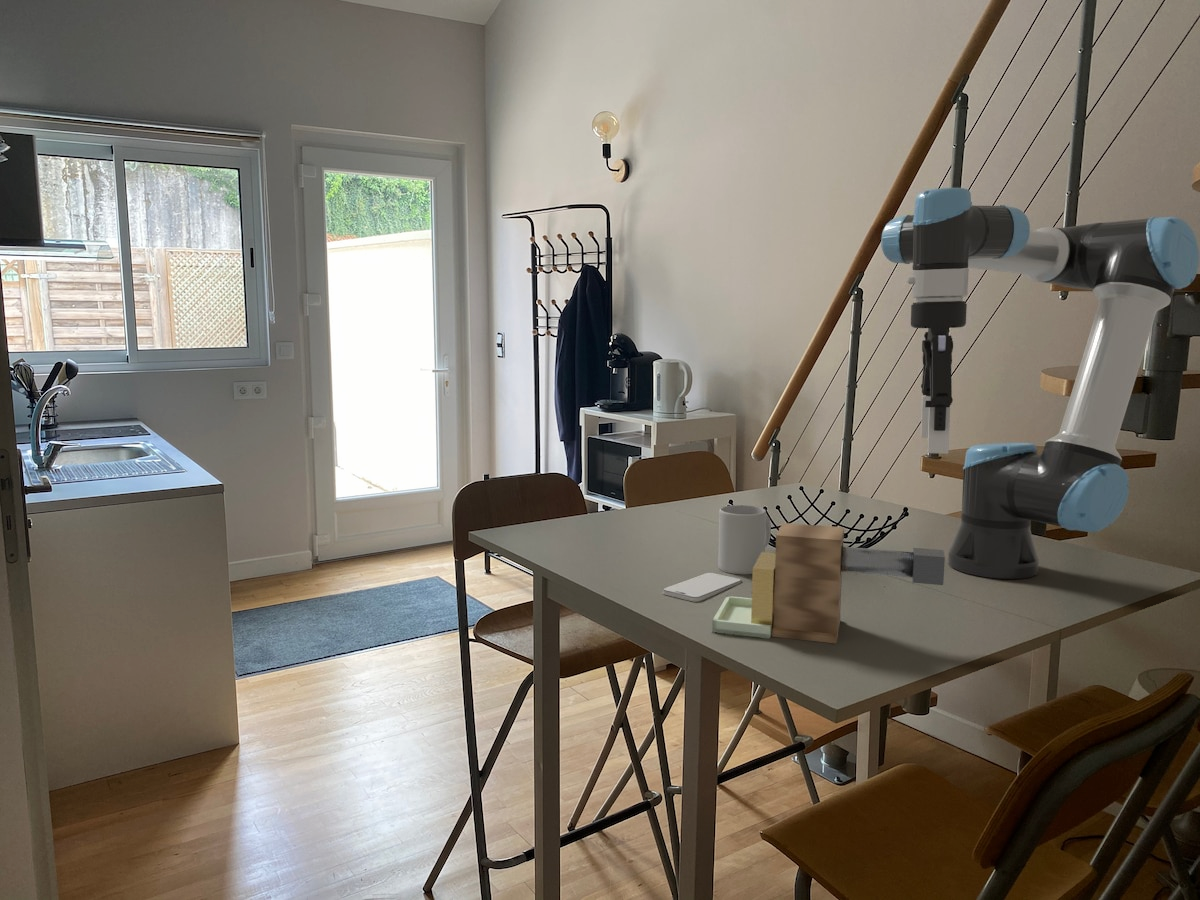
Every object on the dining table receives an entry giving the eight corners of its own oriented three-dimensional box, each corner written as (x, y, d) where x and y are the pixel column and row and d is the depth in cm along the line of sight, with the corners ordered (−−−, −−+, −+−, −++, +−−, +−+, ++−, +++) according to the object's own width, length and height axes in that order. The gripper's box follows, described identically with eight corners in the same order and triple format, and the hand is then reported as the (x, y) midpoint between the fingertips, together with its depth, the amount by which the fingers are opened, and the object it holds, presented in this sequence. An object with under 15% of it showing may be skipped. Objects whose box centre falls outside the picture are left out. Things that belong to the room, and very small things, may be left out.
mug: (744, 577, 156) (745, 517, 155) (708, 567, 163) (709, 509, 161) (786, 565, 164) (787, 507, 162) (750, 555, 170) (751, 500, 169)
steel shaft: (941, 577, 126) (943, 549, 125) (943, 585, 122) (944, 557, 121) (798, 565, 132) (799, 539, 131) (796, 572, 128) (796, 545, 128)
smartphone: (744, 579, 154) (696, 598, 143) (743, 585, 154) (696, 604, 143) (708, 571, 159) (659, 589, 147) (708, 578, 159) (659, 595, 147)
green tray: (779, 612, 138) (780, 601, 138) (769, 638, 127) (770, 626, 127) (726, 606, 141) (726, 595, 140) (712, 632, 129) (712, 620, 129)
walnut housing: (840, 620, 134) (844, 525, 132) (836, 643, 125) (840, 541, 123) (780, 614, 137) (783, 521, 135) (772, 636, 128) (775, 536, 125)
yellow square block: (779, 611, 137) (781, 553, 135) (771, 631, 128) (773, 570, 127) (759, 609, 138) (761, 552, 136) (751, 629, 129) (752, 568, 128)
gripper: (906, 300, 140) (902, 432, 144) (917, 301, 117) (912, 459, 120) (957, 298, 138) (952, 432, 142) (978, 300, 114) (971, 460, 118)
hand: (933, 445), depth 131 cm, fingers open, 13 cm apart
